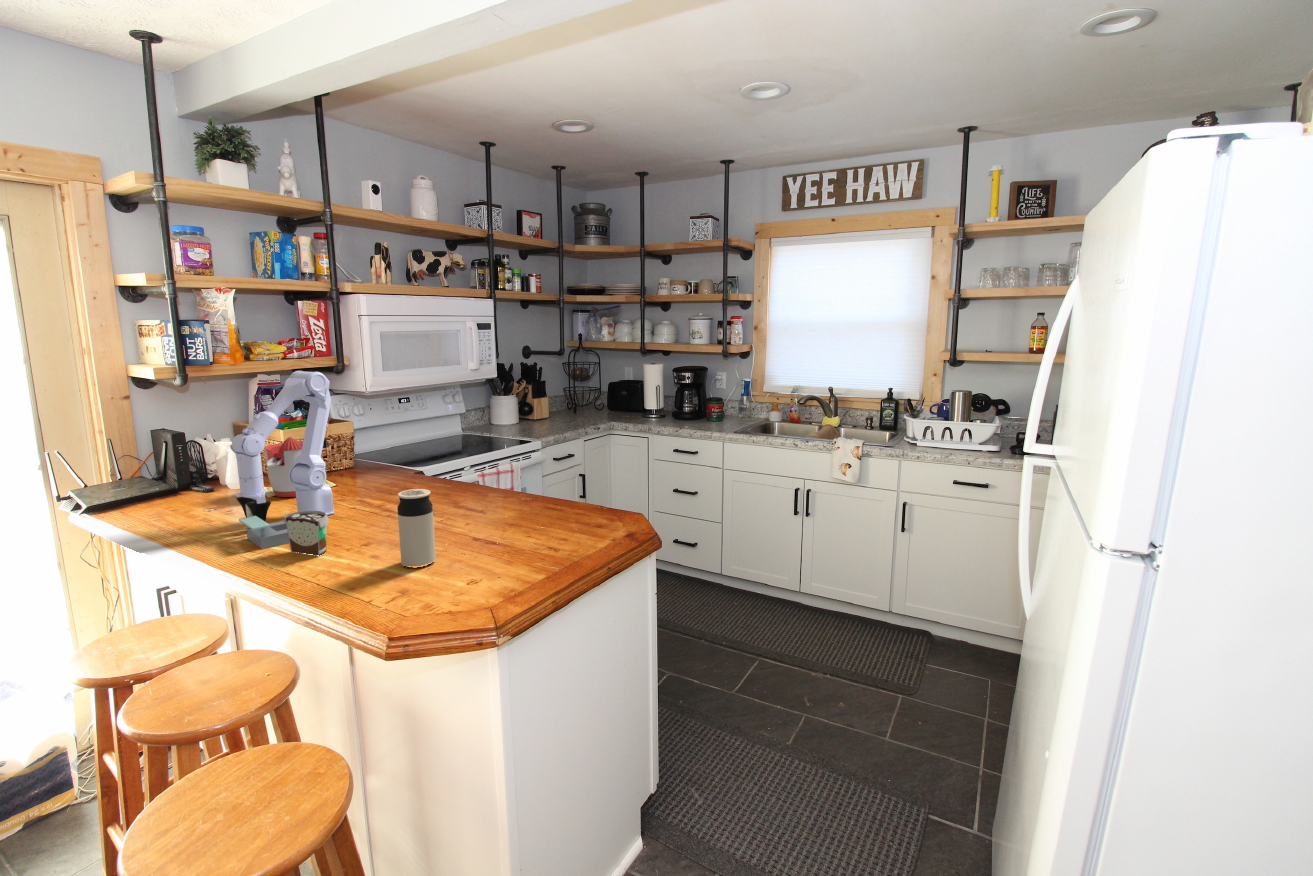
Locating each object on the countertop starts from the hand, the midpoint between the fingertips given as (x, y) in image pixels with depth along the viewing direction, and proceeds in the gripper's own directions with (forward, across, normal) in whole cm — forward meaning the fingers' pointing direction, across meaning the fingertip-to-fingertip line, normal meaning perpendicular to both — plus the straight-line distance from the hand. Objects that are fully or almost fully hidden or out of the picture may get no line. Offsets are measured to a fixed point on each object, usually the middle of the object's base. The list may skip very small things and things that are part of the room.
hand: (256, 523), depth 180 cm
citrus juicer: (+2, -34, +21) cm, 40 cm away
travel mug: (+2, +57, +19) cm, 60 cm away
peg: (+2, 0, 0) cm, 2 cm away
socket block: (+2, +12, +2) cm, 12 cm away
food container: (+2, +29, +5) cm, 30 cm away
